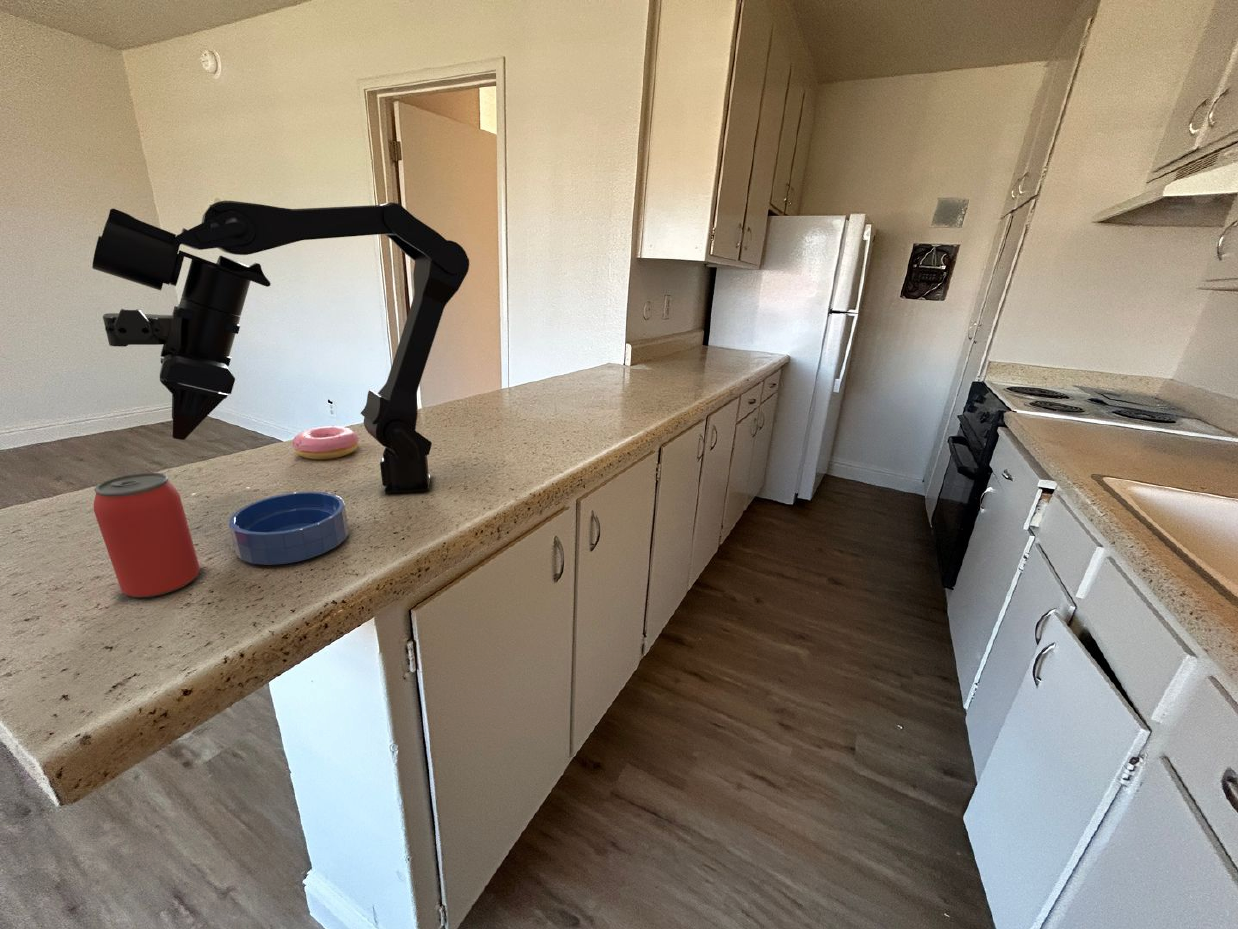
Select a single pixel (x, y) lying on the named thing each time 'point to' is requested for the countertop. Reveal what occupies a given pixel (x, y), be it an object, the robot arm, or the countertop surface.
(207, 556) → the countertop surface
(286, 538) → the bowl
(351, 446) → the doughnut
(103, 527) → the beer can
